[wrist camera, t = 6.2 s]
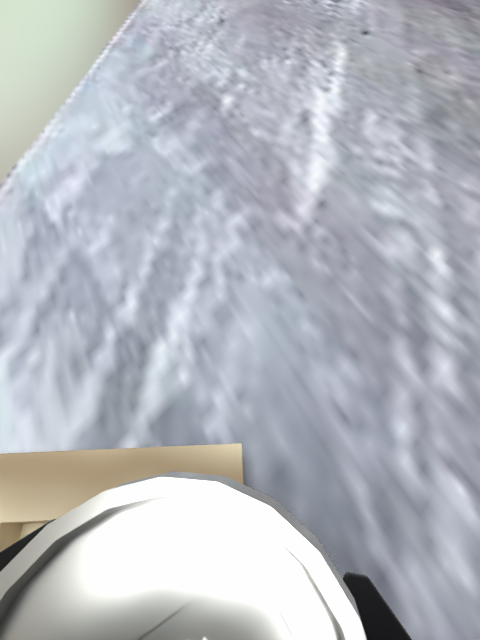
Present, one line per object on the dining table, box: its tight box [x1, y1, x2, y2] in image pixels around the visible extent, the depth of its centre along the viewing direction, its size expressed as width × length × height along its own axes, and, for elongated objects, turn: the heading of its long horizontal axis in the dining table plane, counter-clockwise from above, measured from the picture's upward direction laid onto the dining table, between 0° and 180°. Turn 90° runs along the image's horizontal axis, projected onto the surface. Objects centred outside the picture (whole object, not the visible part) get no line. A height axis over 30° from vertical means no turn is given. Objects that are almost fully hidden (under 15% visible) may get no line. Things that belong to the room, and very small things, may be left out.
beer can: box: [0, 471, 367, 640], centre depth 9 cm, size 5×5×12 cm
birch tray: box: [0, 444, 243, 552], centre depth 16 cm, size 14×14×4 cm
